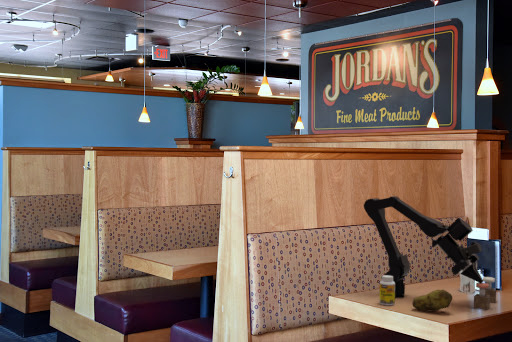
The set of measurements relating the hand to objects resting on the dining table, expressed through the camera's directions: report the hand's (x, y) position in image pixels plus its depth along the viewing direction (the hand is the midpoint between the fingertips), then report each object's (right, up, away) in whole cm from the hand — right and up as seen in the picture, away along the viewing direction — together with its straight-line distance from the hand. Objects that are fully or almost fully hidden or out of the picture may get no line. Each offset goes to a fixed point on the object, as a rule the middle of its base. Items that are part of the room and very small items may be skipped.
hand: (482, 282), depth 223 cm
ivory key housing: (+6, -9, +11) cm, 16 cm away
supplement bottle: (-33, -9, +4) cm, 35 cm away
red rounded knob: (0, -6, 0) cm, 6 cm away
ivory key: (+6, -6, +11) cm, 14 cm away
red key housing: (0, -9, 0) cm, 9 cm away
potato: (-20, -9, -6) cm, 23 cm away
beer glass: (+4, -9, +28) cm, 30 cm away
